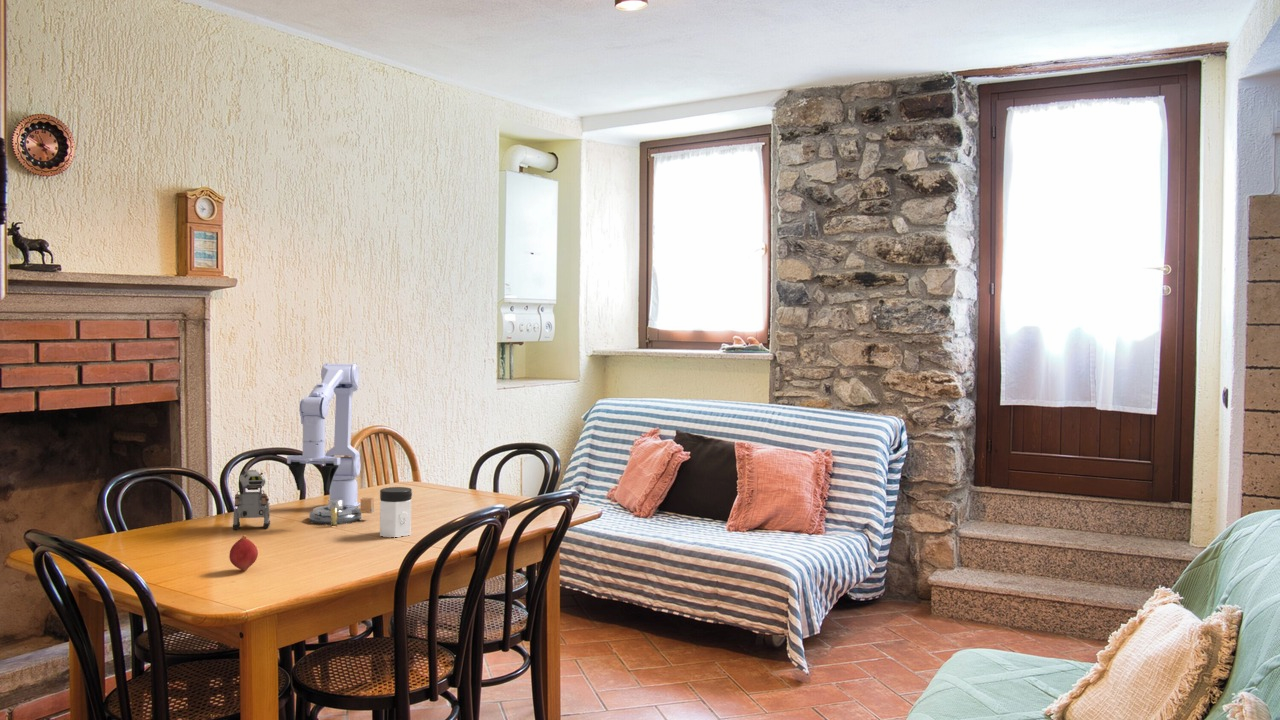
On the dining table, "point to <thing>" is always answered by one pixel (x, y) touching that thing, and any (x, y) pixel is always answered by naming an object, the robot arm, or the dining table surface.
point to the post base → (340, 519)
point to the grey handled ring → (348, 508)
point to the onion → (243, 554)
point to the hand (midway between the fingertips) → (313, 490)
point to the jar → (395, 511)
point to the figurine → (251, 499)
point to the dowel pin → (333, 516)
